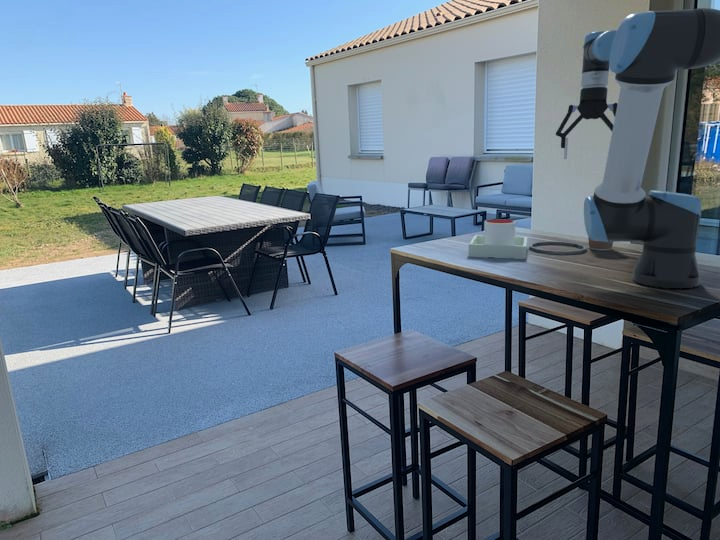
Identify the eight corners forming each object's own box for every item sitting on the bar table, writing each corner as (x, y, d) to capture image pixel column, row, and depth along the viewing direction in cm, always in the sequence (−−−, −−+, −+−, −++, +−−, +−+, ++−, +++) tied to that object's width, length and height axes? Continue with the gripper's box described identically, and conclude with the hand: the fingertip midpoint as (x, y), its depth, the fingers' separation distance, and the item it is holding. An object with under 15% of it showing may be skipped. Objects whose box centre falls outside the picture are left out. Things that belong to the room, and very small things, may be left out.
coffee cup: (607, 252, 169) (611, 216, 167) (578, 248, 177) (580, 214, 174) (622, 248, 176) (625, 213, 173) (592, 244, 183) (595, 211, 181)
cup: (511, 247, 178) (513, 219, 176) (515, 253, 168) (517, 223, 166) (482, 247, 179) (483, 219, 177) (484, 253, 170) (485, 223, 168)
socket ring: (588, 255, 166) (588, 252, 166) (528, 253, 172) (528, 250, 171) (583, 245, 183) (584, 242, 182) (529, 243, 189) (529, 240, 188)
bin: (525, 259, 163) (526, 246, 162) (468, 256, 169) (468, 244, 168) (526, 248, 179) (527, 236, 178) (474, 246, 185) (474, 235, 184)
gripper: (550, 88, 157) (546, 159, 162) (642, 83, 149) (634, 158, 154) (550, 90, 164) (546, 158, 169) (637, 86, 156) (630, 157, 161)
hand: (588, 158), depth 161 cm, fingers open, 13 cm apart
